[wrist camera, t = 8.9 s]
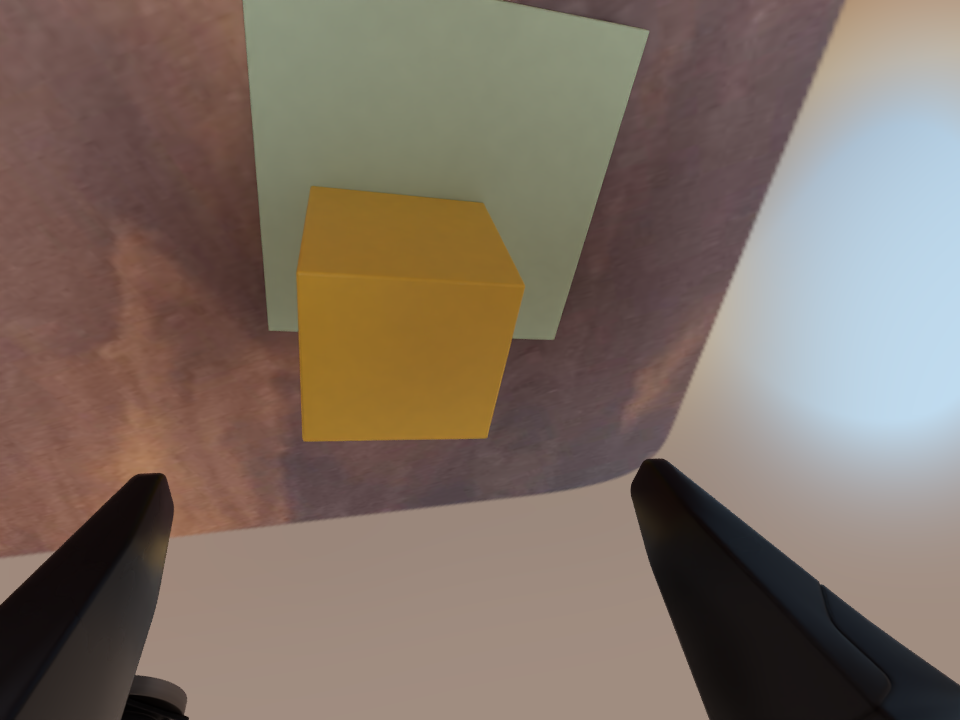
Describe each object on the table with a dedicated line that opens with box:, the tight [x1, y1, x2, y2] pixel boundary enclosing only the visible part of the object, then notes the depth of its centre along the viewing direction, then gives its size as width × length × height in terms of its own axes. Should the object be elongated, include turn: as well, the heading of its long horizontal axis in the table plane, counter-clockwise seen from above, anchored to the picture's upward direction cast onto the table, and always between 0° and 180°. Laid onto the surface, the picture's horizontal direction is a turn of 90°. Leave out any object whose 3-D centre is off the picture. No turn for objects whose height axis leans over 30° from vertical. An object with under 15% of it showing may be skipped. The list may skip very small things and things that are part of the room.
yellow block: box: [296, 186, 525, 442], centre depth 15 cm, size 5×5×5 cm
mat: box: [242, 0, 649, 340], centre depth 16 cm, size 10×10×1 cm
